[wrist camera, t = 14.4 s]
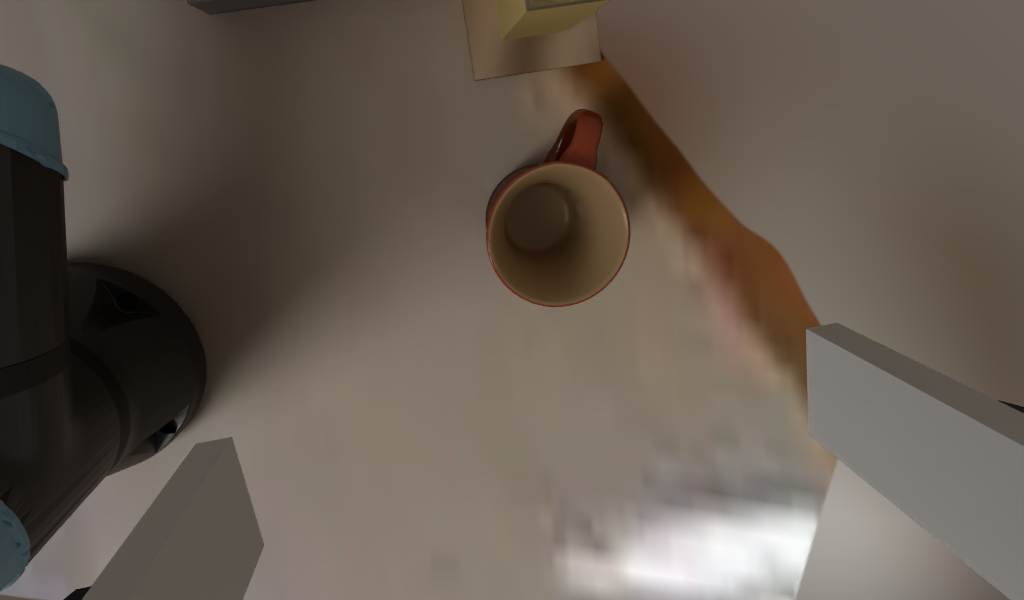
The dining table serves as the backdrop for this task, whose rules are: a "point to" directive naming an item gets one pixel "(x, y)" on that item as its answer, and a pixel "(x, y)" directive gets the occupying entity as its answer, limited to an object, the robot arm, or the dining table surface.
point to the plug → (541, 16)
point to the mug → (559, 222)
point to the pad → (525, 44)
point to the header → (236, 4)
